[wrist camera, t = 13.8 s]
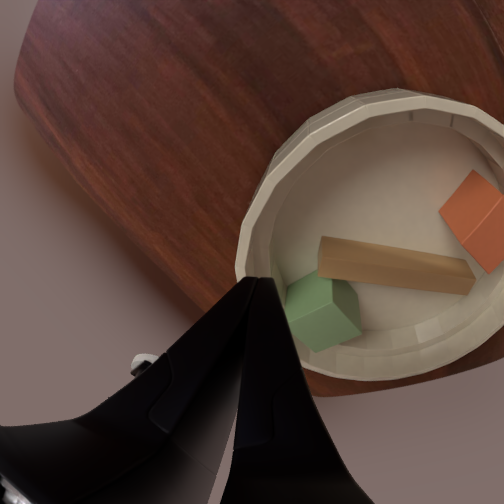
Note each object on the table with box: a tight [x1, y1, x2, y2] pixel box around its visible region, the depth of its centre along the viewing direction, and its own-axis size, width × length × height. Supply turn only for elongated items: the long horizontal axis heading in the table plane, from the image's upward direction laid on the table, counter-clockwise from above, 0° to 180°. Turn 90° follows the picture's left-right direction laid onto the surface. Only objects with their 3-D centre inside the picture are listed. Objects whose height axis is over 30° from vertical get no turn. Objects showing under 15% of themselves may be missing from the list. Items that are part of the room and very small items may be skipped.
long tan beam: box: [317, 236, 477, 296], centre depth 18 cm, size 2×12×2 cm, turn 87°
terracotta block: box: [438, 169, 504, 274], centre depth 13 cm, size 4×4×4 cm
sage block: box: [284, 269, 362, 353], centre depth 20 cm, size 4×4×4 cm
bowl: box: [235, 88, 504, 381], centre depth 17 cm, size 21×21×5 cm
